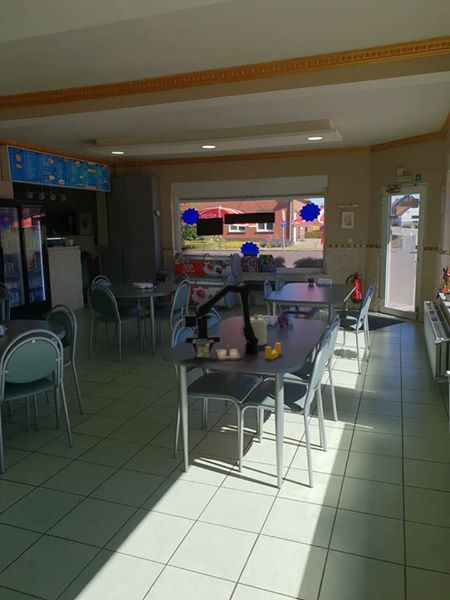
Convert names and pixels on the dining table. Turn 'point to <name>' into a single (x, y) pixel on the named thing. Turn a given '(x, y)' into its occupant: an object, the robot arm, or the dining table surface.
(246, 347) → the robot arm
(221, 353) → the post board
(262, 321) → the jar
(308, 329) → the dining table surface
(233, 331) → the dining table surface
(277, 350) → the pipe clamp
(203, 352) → the collar
